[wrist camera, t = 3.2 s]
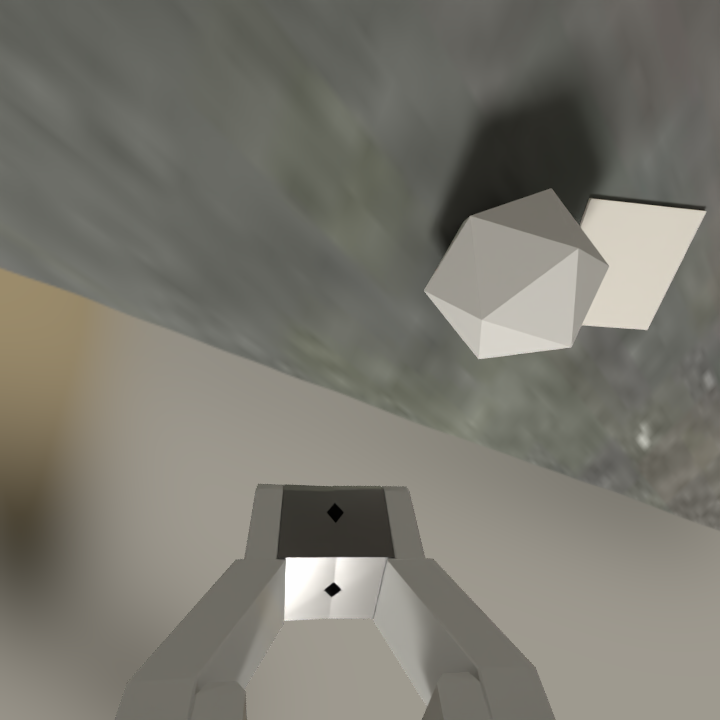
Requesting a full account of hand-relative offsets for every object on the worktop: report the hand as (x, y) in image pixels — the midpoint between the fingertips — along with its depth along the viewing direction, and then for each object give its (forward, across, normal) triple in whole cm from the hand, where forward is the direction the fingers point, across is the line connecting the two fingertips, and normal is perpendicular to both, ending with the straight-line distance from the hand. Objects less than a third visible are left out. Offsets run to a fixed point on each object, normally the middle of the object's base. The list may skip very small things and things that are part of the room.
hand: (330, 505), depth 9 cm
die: (+20, +10, 0) cm, 22 cm away
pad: (+19, +19, 0) cm, 27 cm away
